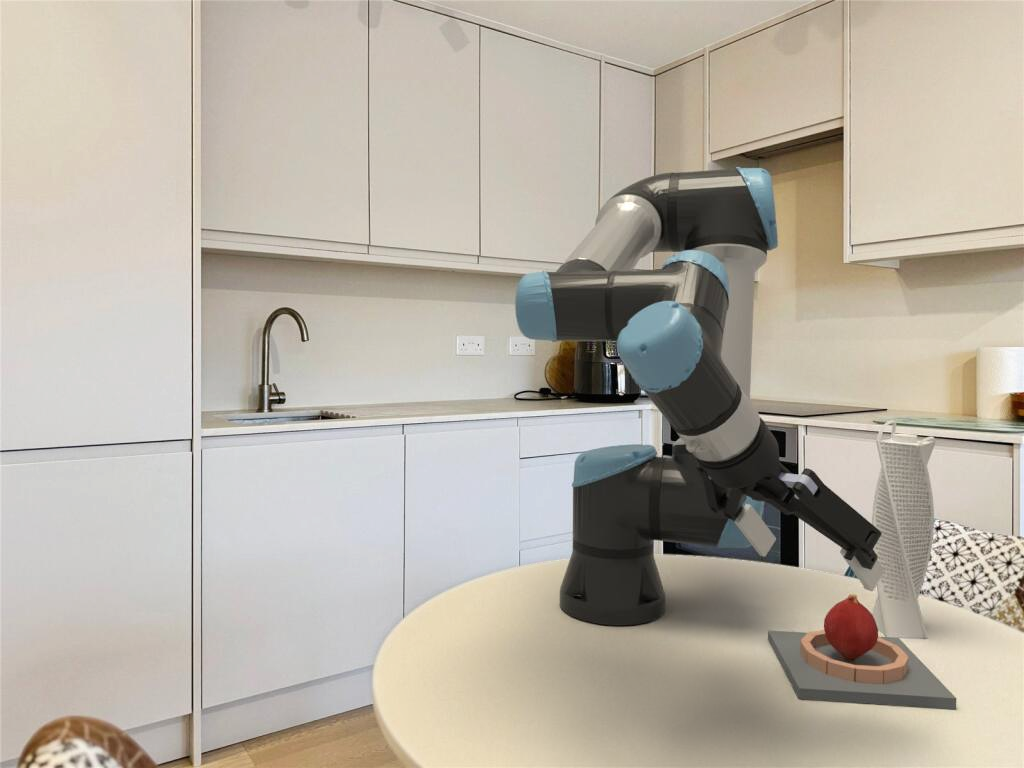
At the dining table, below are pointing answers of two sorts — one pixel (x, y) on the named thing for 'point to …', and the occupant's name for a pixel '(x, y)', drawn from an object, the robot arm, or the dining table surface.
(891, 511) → the skyscraper
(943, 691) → the dock
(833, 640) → the red rounded fruit
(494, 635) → the dining table surface
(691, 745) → the dining table surface
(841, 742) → the dining table surface
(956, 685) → the dining table surface
